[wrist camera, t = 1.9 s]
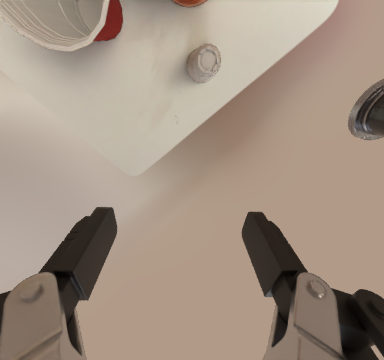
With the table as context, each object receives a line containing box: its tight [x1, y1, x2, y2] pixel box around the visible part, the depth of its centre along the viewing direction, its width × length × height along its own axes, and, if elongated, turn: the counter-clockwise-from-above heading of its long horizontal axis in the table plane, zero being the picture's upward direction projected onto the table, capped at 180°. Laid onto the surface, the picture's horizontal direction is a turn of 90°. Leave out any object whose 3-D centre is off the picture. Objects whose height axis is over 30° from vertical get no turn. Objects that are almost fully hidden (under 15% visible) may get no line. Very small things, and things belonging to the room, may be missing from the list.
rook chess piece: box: [188, 44, 221, 83], centre depth 22 cm, size 4×4×8 cm
